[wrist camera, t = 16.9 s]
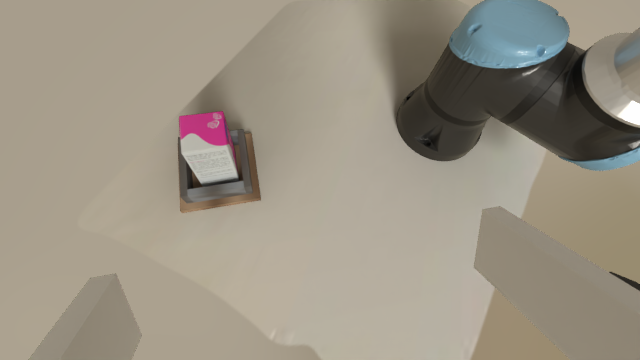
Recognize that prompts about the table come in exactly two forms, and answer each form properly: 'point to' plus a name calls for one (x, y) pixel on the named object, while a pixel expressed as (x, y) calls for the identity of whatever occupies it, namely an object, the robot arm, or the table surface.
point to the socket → (223, 194)
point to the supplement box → (208, 148)
